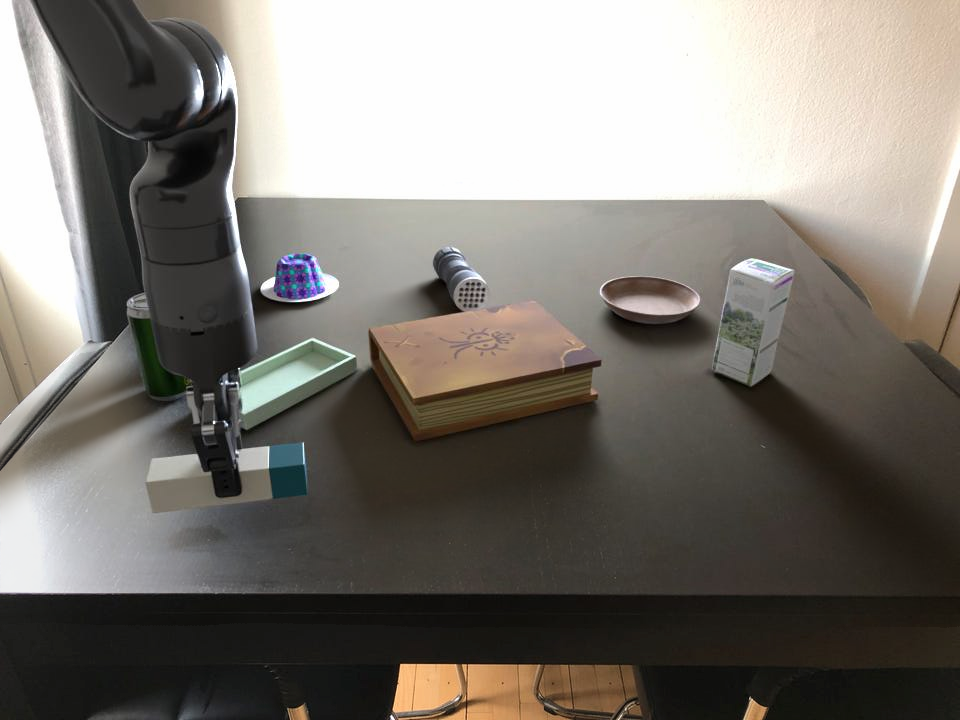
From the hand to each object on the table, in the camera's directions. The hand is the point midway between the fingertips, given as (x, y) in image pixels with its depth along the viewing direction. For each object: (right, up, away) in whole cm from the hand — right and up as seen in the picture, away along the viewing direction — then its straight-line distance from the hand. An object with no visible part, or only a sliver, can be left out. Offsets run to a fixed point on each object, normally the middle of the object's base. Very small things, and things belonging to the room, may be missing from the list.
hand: (230, 479), depth 66 cm
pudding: (-6, +21, +51) cm, 56 cm away
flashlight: (+19, +21, +51) cm, 58 cm away
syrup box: (+56, +9, +30) cm, 64 cm away
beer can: (-15, +7, +24) cm, 29 cm away
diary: (+22, +8, +27) cm, 36 cm away
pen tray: (-2, +7, +25) cm, 26 cm away
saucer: (+47, +18, +47) cm, 69 cm away
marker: (0, -1, +1) cm, 1 cm away
